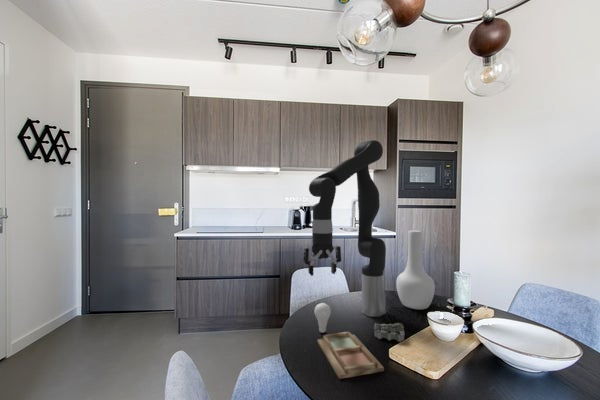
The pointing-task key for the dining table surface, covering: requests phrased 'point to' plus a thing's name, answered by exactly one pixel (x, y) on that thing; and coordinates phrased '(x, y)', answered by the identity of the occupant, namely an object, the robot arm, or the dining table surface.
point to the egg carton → (392, 328)
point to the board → (348, 355)
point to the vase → (415, 277)
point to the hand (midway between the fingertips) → (322, 274)
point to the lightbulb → (322, 316)
